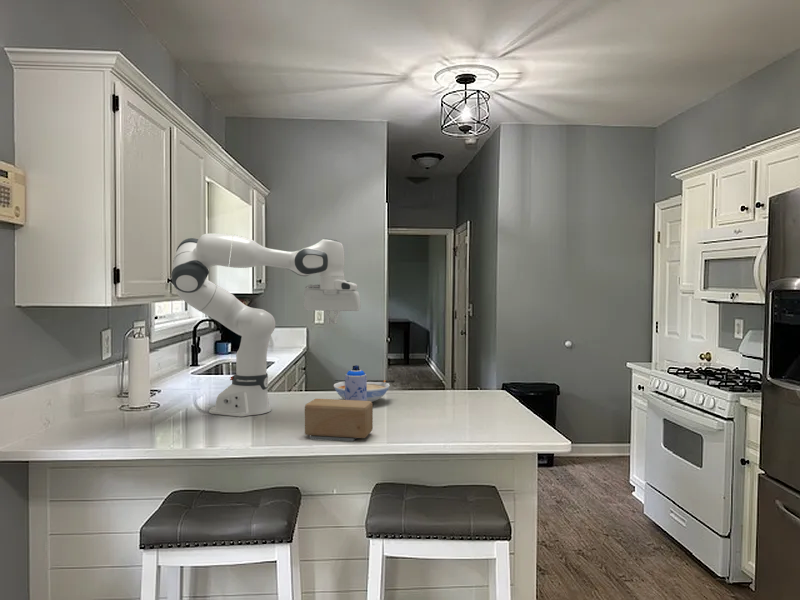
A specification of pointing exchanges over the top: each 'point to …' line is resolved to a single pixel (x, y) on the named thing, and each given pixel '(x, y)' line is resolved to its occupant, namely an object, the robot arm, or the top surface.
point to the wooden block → (339, 418)
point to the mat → (332, 438)
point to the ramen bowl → (373, 388)
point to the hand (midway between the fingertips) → (332, 323)
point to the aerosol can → (356, 384)
